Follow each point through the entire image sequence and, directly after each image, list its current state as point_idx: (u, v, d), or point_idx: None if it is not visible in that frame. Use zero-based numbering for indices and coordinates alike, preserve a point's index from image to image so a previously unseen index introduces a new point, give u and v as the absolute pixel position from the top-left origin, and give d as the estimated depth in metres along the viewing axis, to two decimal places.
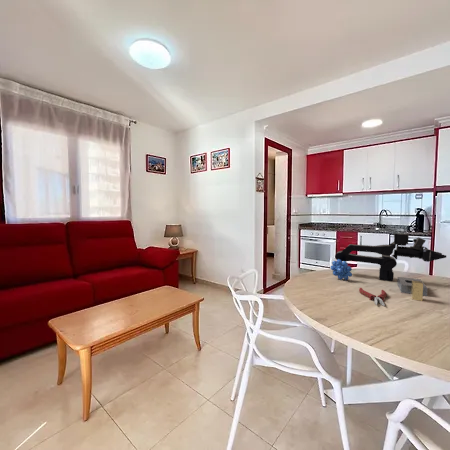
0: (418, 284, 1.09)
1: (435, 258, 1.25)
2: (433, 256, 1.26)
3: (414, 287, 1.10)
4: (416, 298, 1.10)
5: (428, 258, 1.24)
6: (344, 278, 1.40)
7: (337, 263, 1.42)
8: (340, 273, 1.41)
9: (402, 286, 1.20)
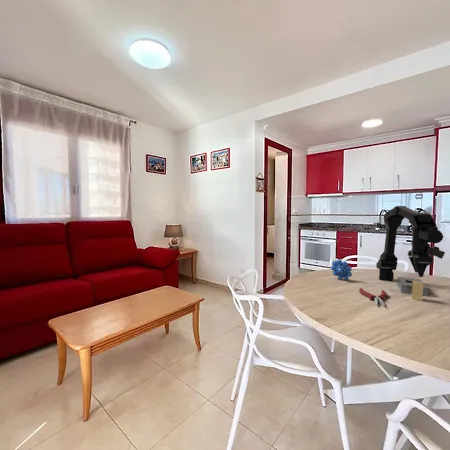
0: (418, 284, 1.09)
1: (418, 267, 1.06)
2: (420, 265, 1.05)
3: (414, 287, 1.10)
4: (416, 298, 1.10)
5: (420, 261, 1.03)
6: (344, 278, 1.40)
7: (337, 263, 1.42)
8: (340, 273, 1.41)
9: (402, 286, 1.20)
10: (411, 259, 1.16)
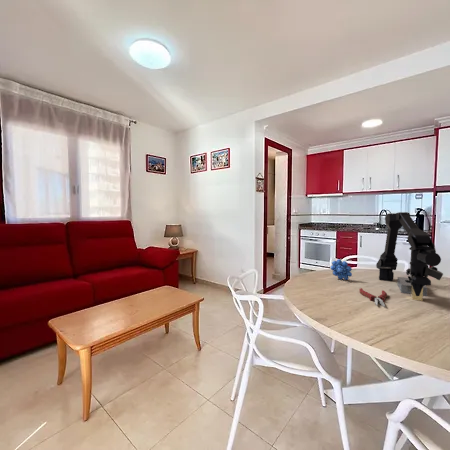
0: None
1: (414, 286, 1.09)
2: (417, 285, 1.08)
3: None
4: (416, 298, 1.10)
5: (417, 283, 1.03)
6: (344, 278, 1.40)
7: (337, 263, 1.42)
8: (340, 273, 1.41)
9: (402, 286, 1.20)
10: (410, 279, 1.14)
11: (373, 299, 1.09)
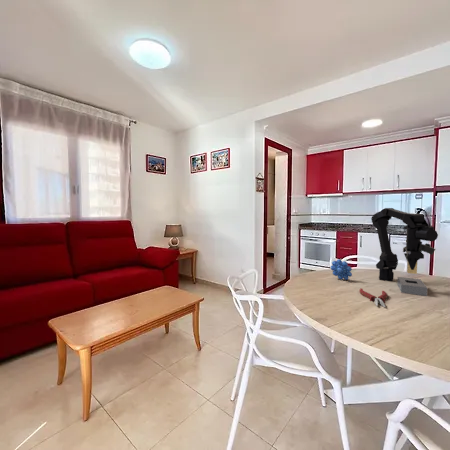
0: None
1: (409, 261, 1.21)
2: (412, 259, 1.21)
3: None
4: (411, 271, 1.22)
5: (412, 256, 1.16)
6: (344, 278, 1.40)
7: (337, 263, 1.42)
8: (340, 273, 1.41)
9: (402, 286, 1.20)
10: (406, 256, 1.26)
11: (373, 299, 1.09)
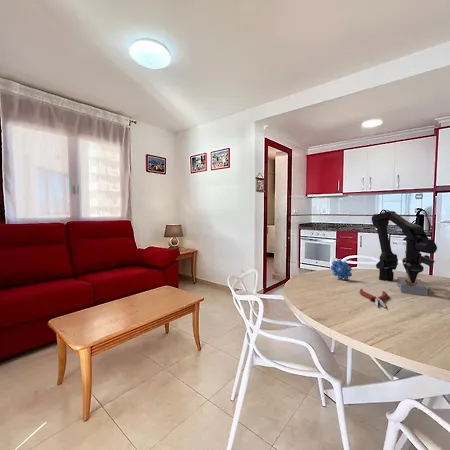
0: None
1: (410, 274, 1.19)
2: (412, 272, 1.19)
3: (409, 279, 1.23)
4: None
5: (412, 269, 1.16)
6: (344, 278, 1.40)
7: (337, 263, 1.42)
8: (340, 273, 1.41)
9: (402, 286, 1.20)
10: (405, 266, 1.29)
11: (373, 300, 1.08)
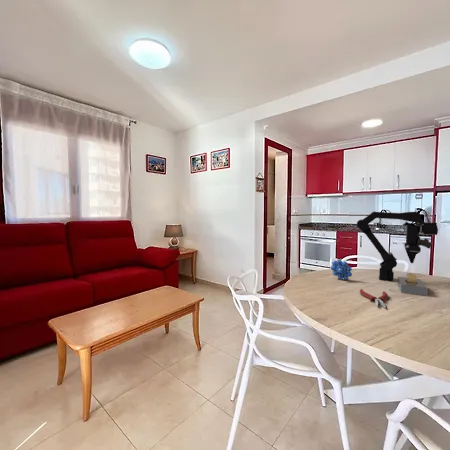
0: (412, 276, 1.22)
1: (409, 255, 1.31)
2: (411, 253, 1.31)
3: (409, 279, 1.23)
4: None
5: (410, 250, 1.28)
6: (344, 278, 1.40)
7: (337, 263, 1.42)
8: (340, 273, 1.41)
9: (402, 286, 1.20)
10: None
11: (373, 300, 1.08)
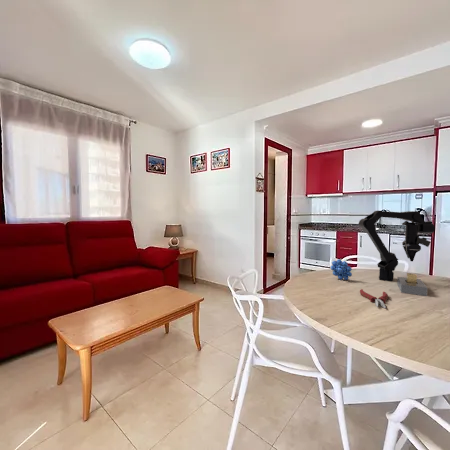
0: (412, 276, 1.22)
1: (409, 253, 1.35)
2: (411, 252, 1.35)
3: (409, 279, 1.23)
4: None
5: (410, 248, 1.32)
6: (344, 278, 1.40)
7: (337, 263, 1.42)
8: (340, 273, 1.41)
9: (402, 286, 1.20)
10: (405, 248, 1.45)
11: (374, 300, 1.08)
